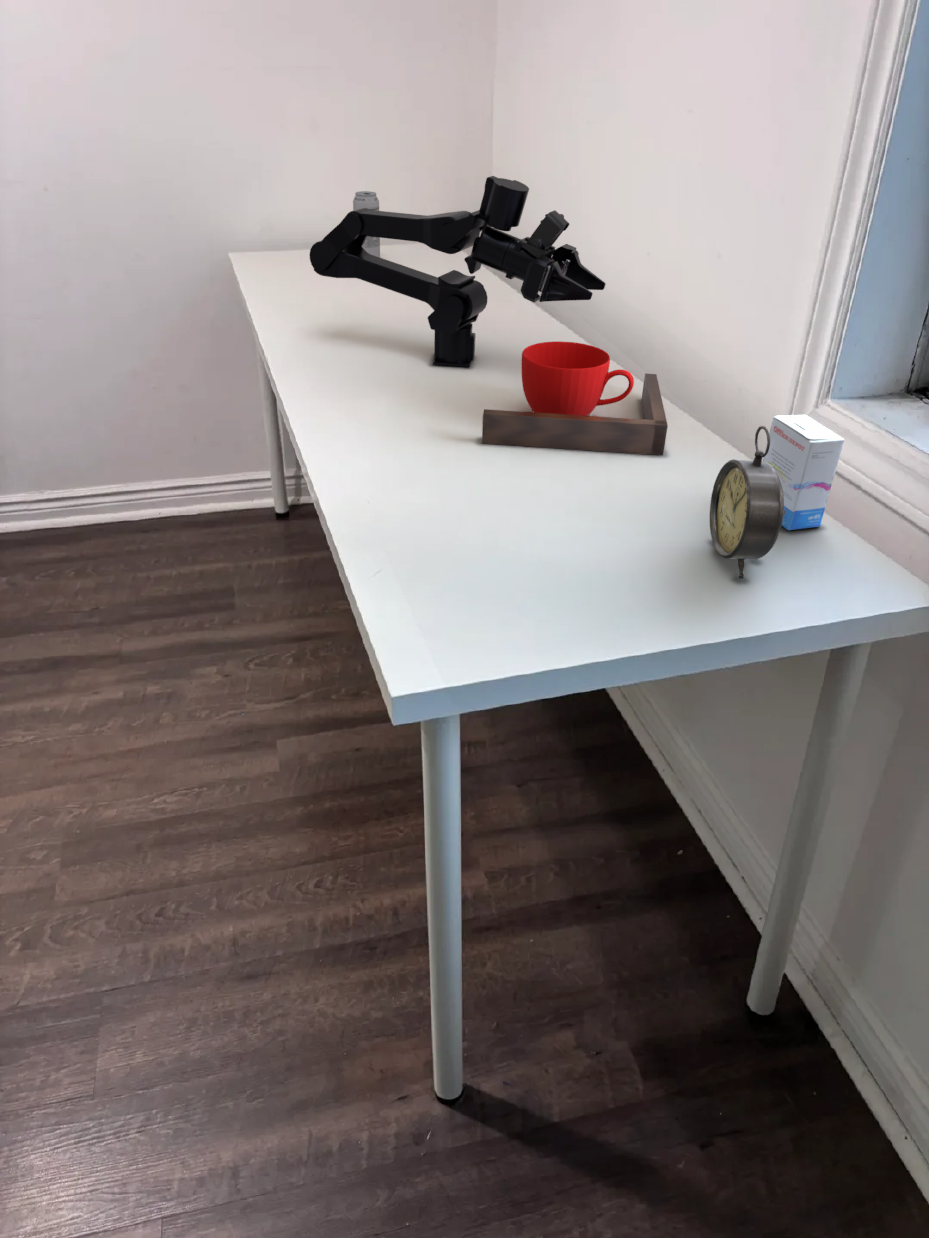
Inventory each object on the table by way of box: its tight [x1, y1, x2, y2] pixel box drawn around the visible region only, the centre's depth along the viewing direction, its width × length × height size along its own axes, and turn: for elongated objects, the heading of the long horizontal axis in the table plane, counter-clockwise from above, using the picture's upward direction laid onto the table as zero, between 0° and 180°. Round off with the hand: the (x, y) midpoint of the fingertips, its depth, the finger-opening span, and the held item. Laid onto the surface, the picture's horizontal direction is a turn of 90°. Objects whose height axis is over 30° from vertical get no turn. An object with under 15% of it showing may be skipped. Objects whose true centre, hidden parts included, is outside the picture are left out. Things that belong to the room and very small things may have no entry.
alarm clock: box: [709, 425, 784, 580], centre depth 105 cm, size 11×5×16 cm, turn 5°
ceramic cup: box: [521, 341, 635, 416], centre depth 141 cm, size 13×17×10 cm
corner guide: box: [481, 372, 668, 456], centre depth 143 cm, size 26×22×4 cm
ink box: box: [762, 414, 845, 531], centre depth 116 cm, size 9×5×12 cm, turn 17°
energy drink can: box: [352, 190, 381, 258], centre depth 222 cm, size 6×6×15 cm
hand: (598, 291), depth 150 cm, fingers open, 9 cm apart
